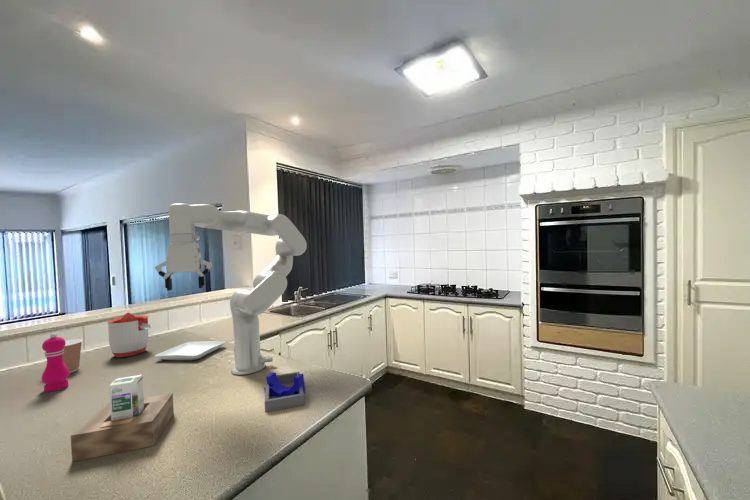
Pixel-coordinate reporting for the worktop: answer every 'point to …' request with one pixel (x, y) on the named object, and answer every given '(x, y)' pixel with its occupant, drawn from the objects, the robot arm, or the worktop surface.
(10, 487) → the worktop surface
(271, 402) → the clip frame
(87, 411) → the worktop surface
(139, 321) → the citrus juicer
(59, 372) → the pepper mill
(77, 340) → the coffee cup
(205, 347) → the salad plate
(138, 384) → the syrup box
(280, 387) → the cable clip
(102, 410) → the socket block
